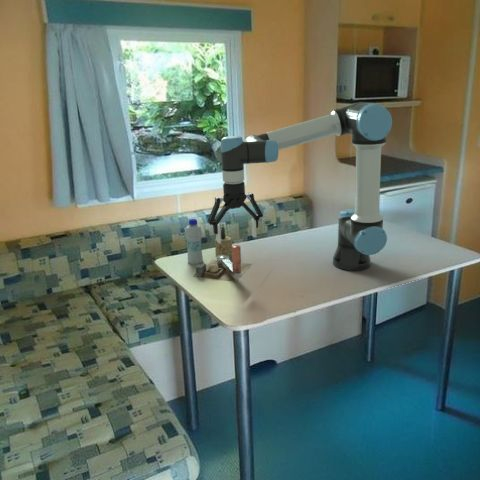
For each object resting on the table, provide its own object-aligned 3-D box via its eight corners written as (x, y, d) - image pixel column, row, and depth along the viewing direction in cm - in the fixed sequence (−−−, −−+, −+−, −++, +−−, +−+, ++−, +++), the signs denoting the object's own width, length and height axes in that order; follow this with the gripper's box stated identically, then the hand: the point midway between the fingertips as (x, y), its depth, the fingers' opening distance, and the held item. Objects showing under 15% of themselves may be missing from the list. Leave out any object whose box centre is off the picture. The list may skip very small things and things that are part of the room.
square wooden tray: (252, 267, 201) (252, 254, 199) (235, 285, 184) (235, 272, 182) (212, 262, 207) (211, 250, 205) (192, 279, 190) (192, 266, 188)
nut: (220, 272, 192) (220, 263, 191) (216, 276, 189) (216, 266, 188) (211, 271, 194) (210, 262, 192) (207, 275, 190) (206, 265, 189)
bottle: (206, 262, 207) (203, 217, 200) (198, 268, 201) (195, 222, 195) (192, 260, 210) (189, 216, 203) (184, 266, 204) (181, 220, 197)
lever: (215, 260, 198) (214, 232, 194) (226, 259, 200) (225, 230, 196) (232, 279, 179) (231, 248, 175) (244, 277, 181) (243, 247, 177)
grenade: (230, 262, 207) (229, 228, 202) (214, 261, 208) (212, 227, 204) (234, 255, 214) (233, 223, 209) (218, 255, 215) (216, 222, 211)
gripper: (262, 175, 177) (264, 231, 184) (196, 183, 169) (200, 241, 176) (270, 179, 170) (272, 237, 177) (201, 188, 163) (206, 247, 170)
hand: (236, 239), depth 177 cm, fingers open, 13 cm apart
